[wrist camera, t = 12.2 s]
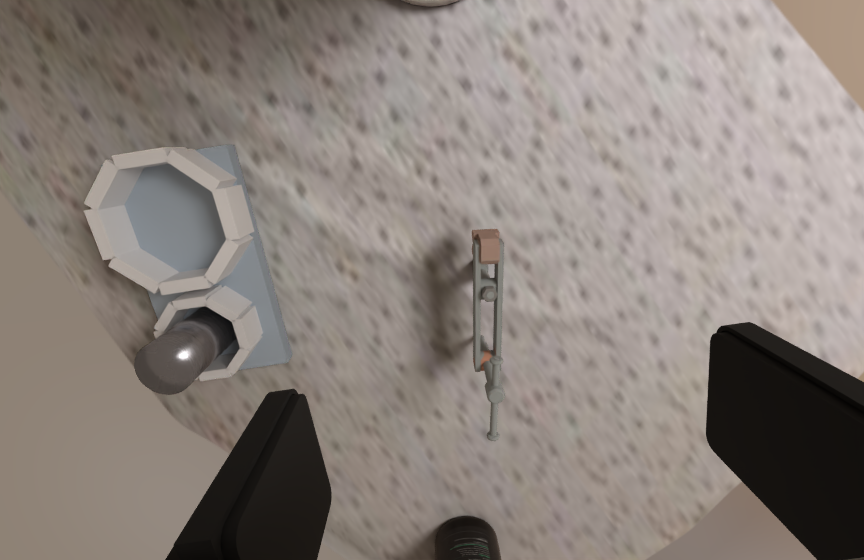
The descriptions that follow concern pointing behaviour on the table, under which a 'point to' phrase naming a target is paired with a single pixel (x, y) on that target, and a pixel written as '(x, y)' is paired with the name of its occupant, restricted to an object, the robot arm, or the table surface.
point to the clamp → (491, 289)
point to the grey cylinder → (184, 351)
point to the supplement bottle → (466, 540)
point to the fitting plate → (191, 246)
